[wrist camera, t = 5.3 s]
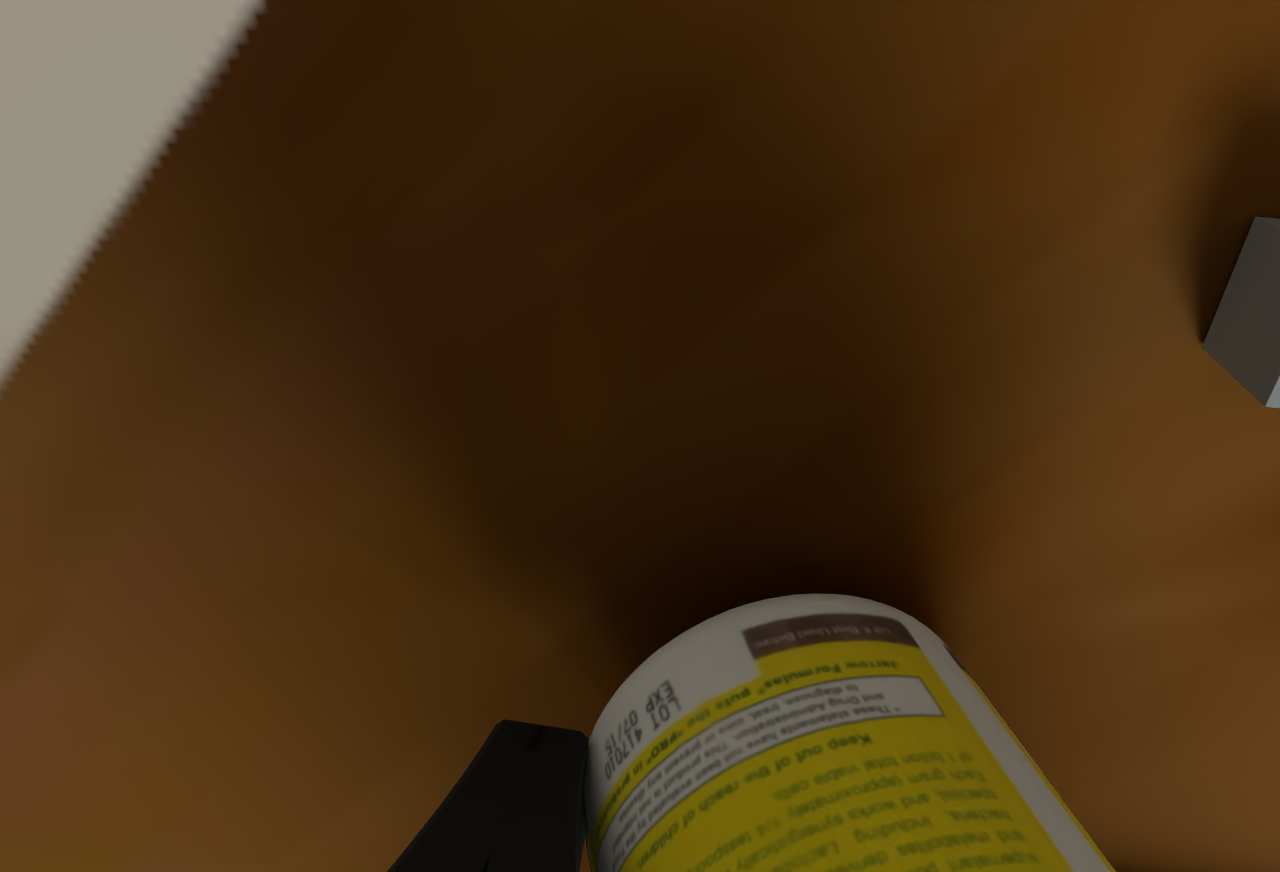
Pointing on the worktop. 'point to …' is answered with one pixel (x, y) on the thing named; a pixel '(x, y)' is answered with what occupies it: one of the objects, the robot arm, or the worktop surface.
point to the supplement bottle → (817, 755)
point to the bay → (1252, 315)
